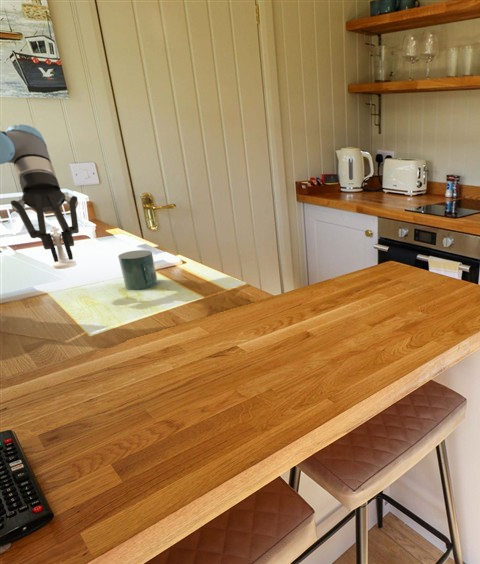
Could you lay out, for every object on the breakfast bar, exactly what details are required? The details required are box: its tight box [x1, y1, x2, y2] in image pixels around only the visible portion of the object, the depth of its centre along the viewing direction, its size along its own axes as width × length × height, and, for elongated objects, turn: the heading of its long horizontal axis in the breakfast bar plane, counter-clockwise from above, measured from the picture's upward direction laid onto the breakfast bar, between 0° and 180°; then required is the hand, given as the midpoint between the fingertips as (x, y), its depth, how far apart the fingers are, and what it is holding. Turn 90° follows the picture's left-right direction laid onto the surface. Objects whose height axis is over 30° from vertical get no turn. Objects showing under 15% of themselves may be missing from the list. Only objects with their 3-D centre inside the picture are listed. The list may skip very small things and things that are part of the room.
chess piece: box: [50, 225, 78, 270], centre depth 104 cm, size 5×5×10 cm
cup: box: [117, 249, 159, 291], centre depth 118 cm, size 10×8×9 cm
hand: (63, 257), depth 102 cm, fingers closed on chess piece, 2 cm apart
